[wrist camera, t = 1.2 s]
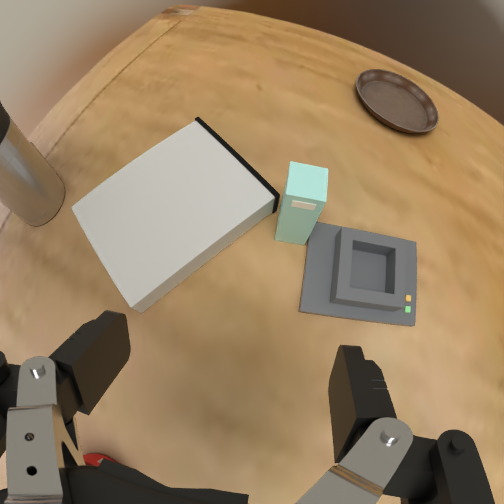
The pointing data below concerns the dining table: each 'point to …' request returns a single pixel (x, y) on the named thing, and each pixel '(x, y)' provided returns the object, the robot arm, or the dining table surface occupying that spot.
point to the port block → (359, 276)
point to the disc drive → (172, 212)
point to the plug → (301, 202)
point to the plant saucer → (397, 101)
